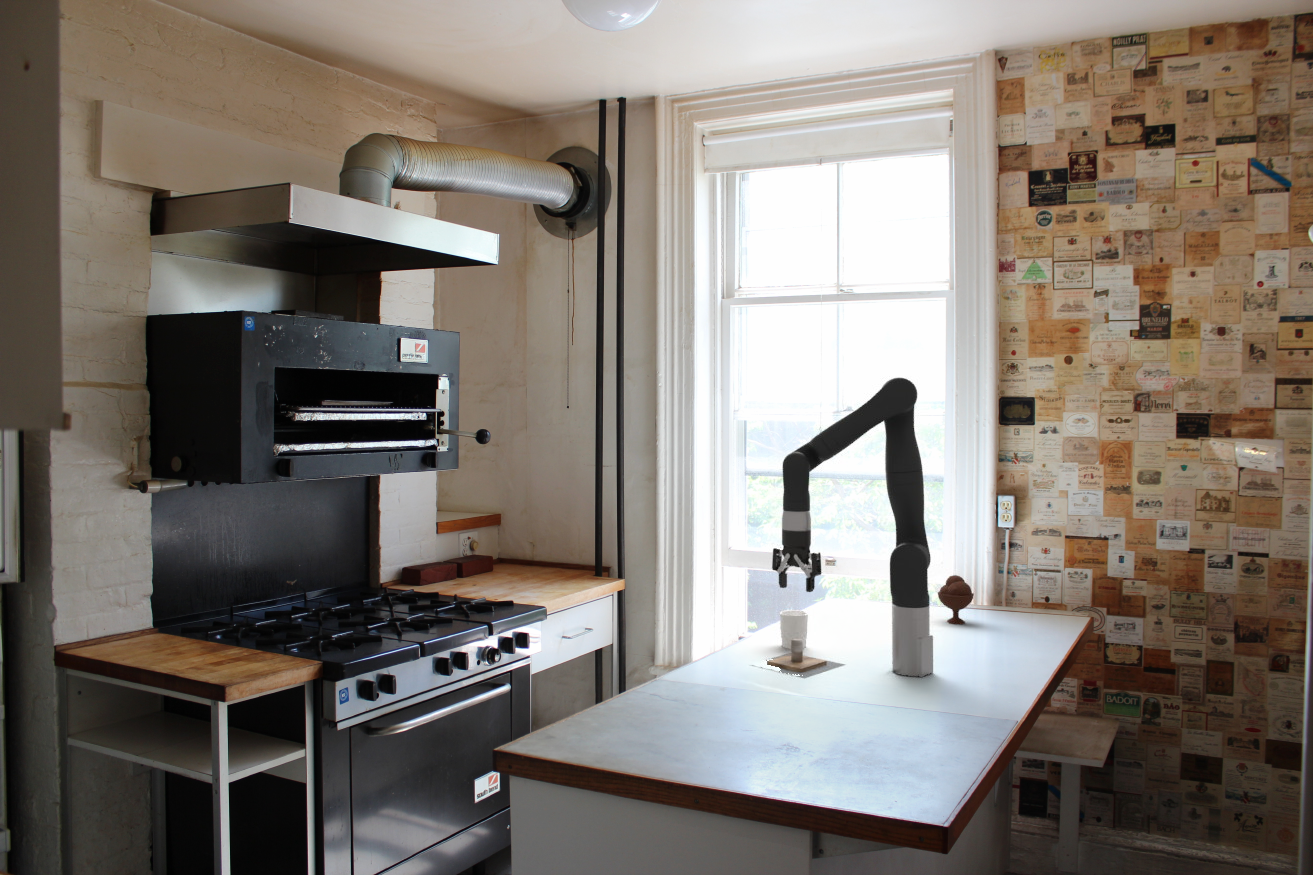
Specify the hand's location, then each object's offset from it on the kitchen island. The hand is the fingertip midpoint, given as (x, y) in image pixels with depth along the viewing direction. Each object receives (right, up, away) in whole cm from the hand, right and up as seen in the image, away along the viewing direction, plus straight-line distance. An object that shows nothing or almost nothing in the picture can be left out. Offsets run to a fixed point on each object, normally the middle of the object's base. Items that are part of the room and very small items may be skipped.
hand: (796, 589), depth 232 cm
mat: (0, -20, 0) cm, 20 cm away
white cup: (+3, -20, +20) cm, 29 cm away
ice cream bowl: (+60, -20, +52) cm, 82 cm away
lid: (0, -20, 0) cm, 20 cm away
